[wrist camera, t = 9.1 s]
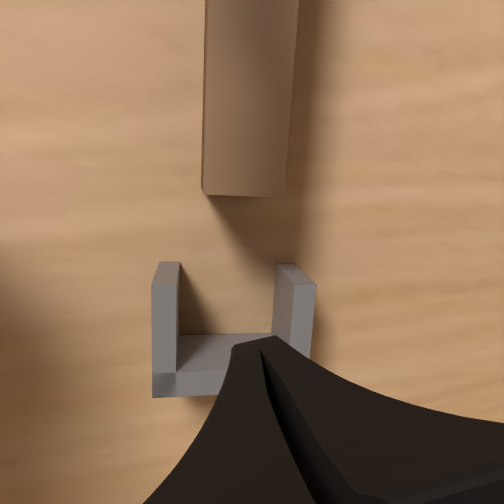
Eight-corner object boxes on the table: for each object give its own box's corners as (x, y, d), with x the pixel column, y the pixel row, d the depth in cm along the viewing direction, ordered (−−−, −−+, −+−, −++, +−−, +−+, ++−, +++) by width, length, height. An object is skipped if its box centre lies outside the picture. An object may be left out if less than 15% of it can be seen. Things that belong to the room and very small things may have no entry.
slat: (200, 186, 18) (203, 194, 13) (209, -163, 15) (216, -319, 10) (260, 188, 18) (284, 198, 14) (281, -149, 15) (320, -292, 11)
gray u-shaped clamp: (159, 356, 19) (152, 398, 16) (159, 261, 18) (151, 284, 15) (287, 352, 21) (306, 390, 17) (294, 263, 19) (316, 284, 16)
